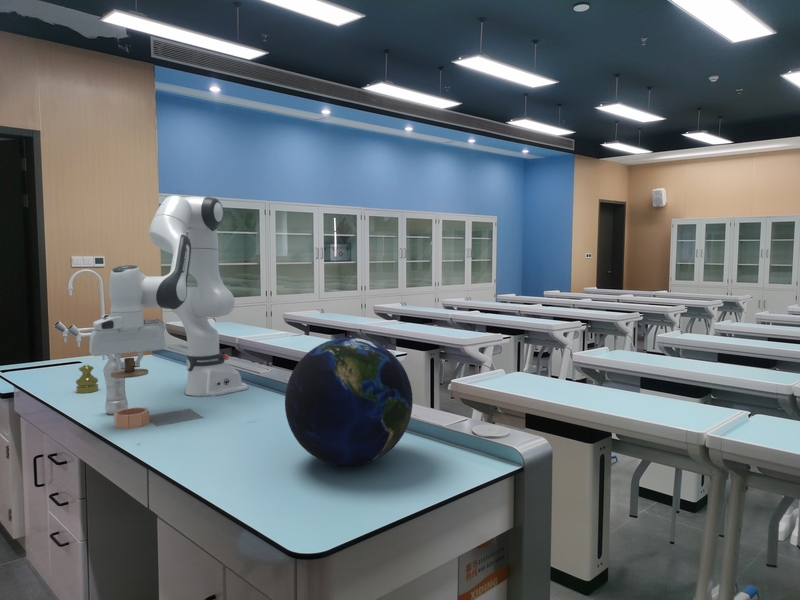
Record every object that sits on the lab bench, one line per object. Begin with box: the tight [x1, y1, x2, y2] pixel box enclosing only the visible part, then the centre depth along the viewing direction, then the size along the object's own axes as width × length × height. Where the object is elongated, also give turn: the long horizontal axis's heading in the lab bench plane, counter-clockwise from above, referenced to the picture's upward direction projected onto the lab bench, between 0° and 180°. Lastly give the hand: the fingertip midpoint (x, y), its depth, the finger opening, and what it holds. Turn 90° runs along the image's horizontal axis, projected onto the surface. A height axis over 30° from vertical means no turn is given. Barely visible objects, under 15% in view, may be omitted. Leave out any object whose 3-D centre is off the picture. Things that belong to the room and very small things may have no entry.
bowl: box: [113, 407, 151, 430], centre depth 170 cm, size 9×9×4 cm
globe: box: [284, 336, 413, 467], centre depth 136 cm, size 30×30×30 cm
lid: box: [111, 357, 149, 379], centre depth 168 cm, size 10×10×5 cm
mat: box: [149, 408, 205, 427], centre depth 177 cm, size 14×14×1 cm
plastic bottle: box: [102, 354, 129, 416], centre depth 182 cm, size 6×7×20 cm
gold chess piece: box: [75, 364, 99, 394], centre depth 216 cm, size 7×7×10 cm
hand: (129, 367), depth 168 cm, fingers closed on lid, 3 cm apart
